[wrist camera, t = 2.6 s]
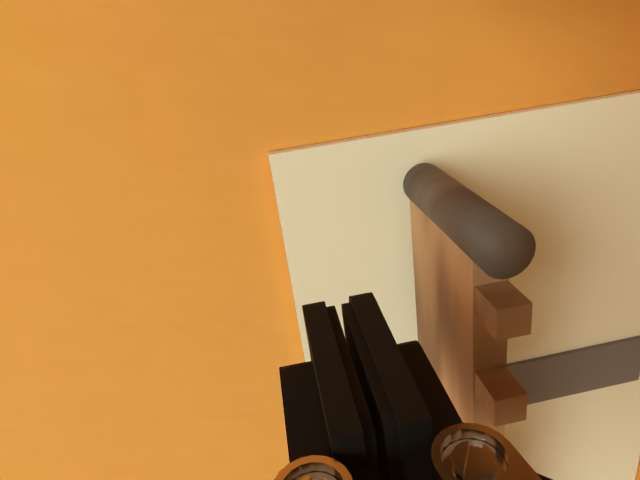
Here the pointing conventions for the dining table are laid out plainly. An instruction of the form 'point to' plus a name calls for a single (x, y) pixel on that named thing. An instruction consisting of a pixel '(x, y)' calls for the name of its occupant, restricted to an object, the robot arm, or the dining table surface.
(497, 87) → the dining table surface
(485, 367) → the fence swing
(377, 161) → the card
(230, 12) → the dining table surface
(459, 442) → the robot arm
